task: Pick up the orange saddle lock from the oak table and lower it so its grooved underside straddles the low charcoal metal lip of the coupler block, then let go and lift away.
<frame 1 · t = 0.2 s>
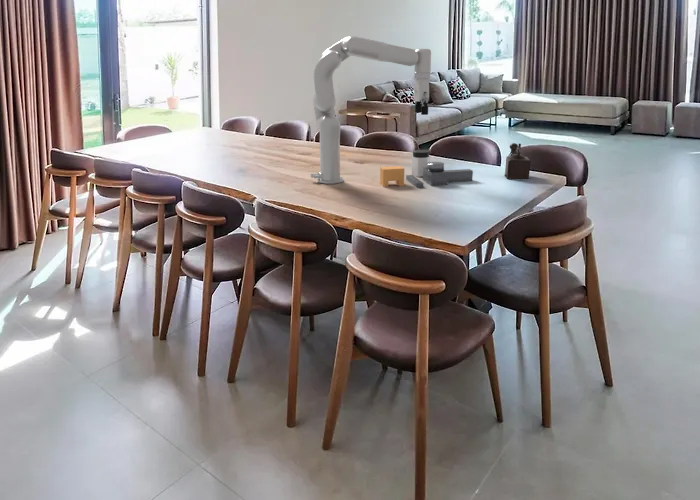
hand: (421, 113, 300), 31 cm above the table, tool pointing down, fingers open, 9 cm apart
saddle lock: (392, 184, 295), on the table
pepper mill: (516, 178, 305), on the table
jar: (420, 175, 314), on the table
coupler: (414, 183, 297), on the table
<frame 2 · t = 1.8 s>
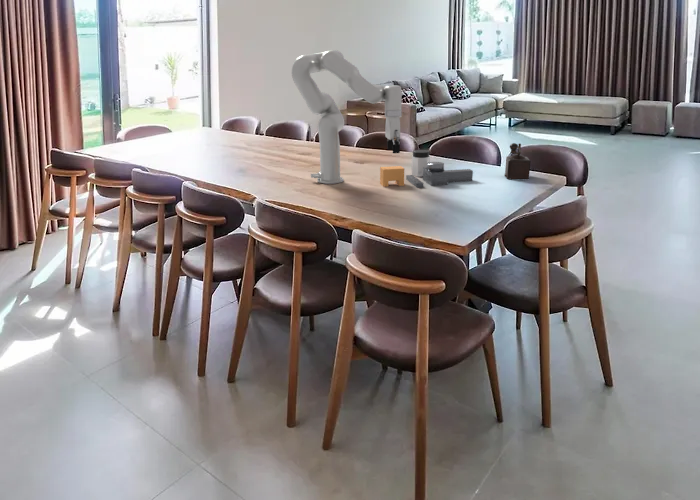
hand: (393, 151, 290), 16 cm above the table, tool pointing down, fingers open, 9 cm apart
nothing on the table moved.
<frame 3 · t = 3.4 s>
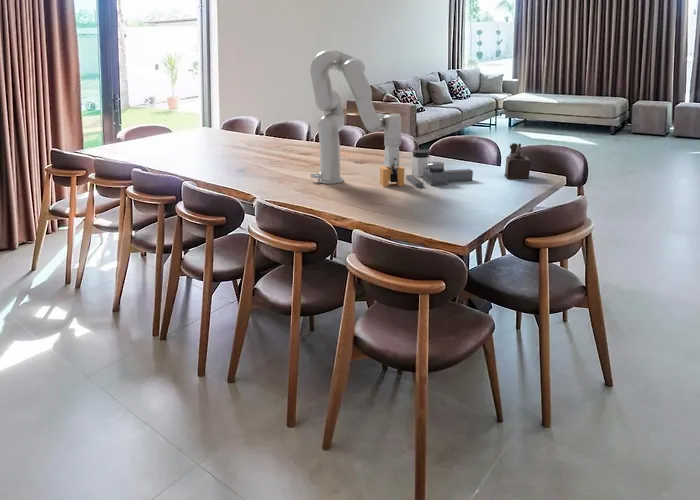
hand: (392, 180, 295), 2 cm above the table, tool pointing down, fingers closed on saddle lock, 6 cm apart
saddle lock: (392, 184, 295), on the table, touching gripper
everything else where it was.
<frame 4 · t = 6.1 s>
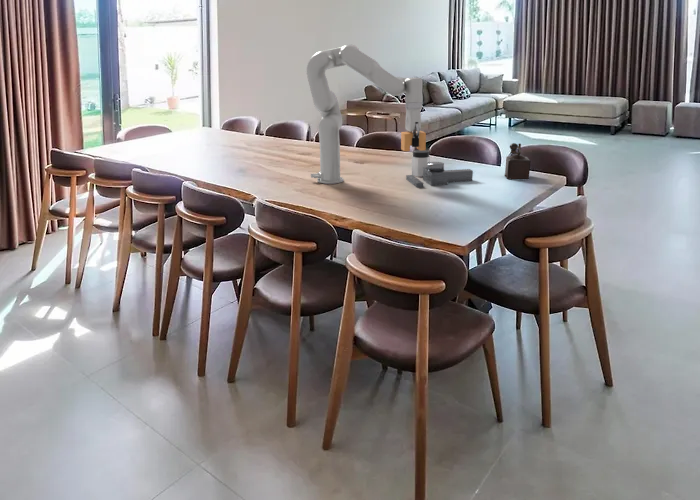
hand: (413, 145, 291), 18 cm above the table, tool pointing down, fingers closed on saddle lock, 6 cm apart
saddle lock: (413, 149, 292), point 16 cm above the table, touching gripper
everything else where it was.
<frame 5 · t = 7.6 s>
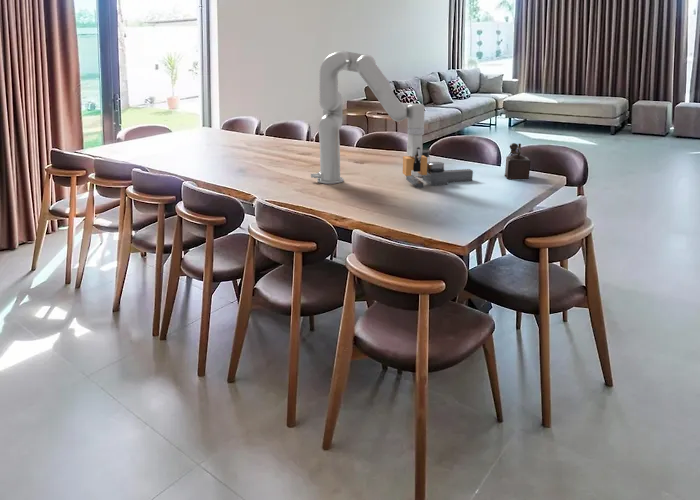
hand: (414, 169, 295), 7 cm above the table, tool pointing down, fingers closed on saddle lock, 6 cm apart
saddle lock: (414, 174, 296), point 4 cm above the table, touching gripper
everything else where it was.
when the fingers open (3 cm above the table, at t = 8.8 s): saddle lock stays where it is, on the table.
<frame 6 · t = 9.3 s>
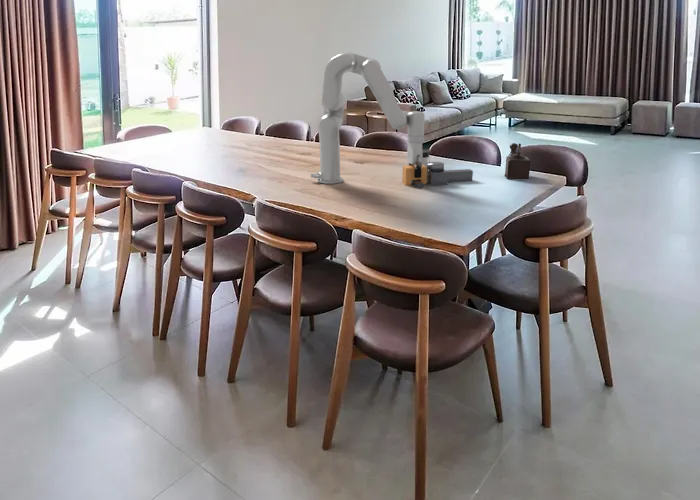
hand: (414, 175, 296), 4 cm above the table, tool pointing down, fingers open, 9 cm apart
saddle lock: (414, 183, 297), on the table
everything else where it was.
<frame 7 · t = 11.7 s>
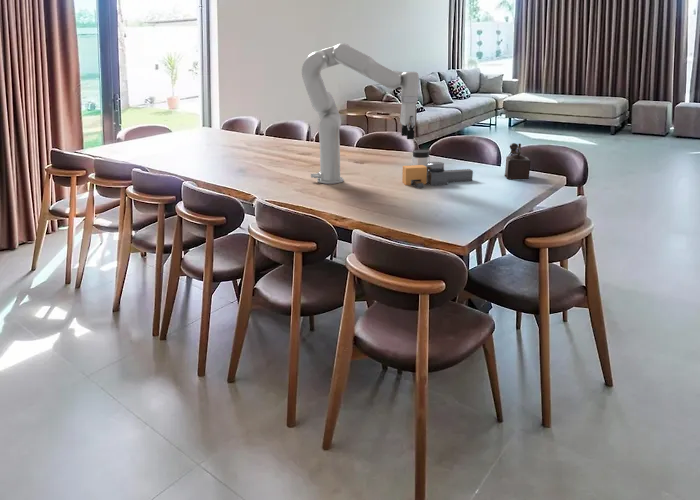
hand: (407, 137, 293), 21 cm above the table, tool pointing down, fingers open, 9 cm apart
nothing on the table moved.
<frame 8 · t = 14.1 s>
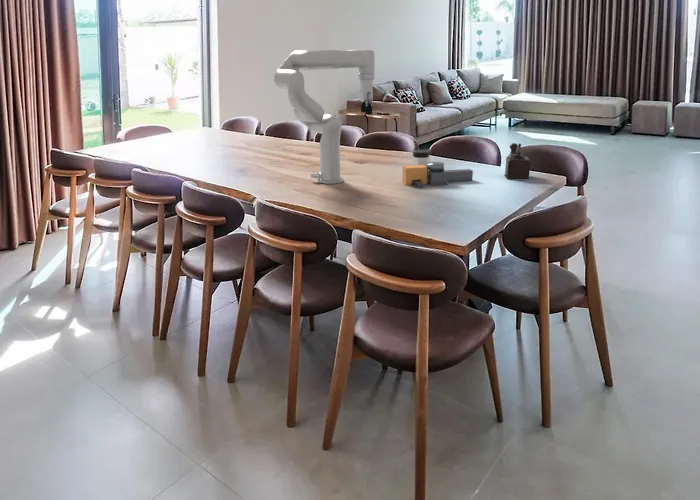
hand: (366, 113, 306), 30 cm above the table, tool pointing down, fingers open, 9 cm apart
nothing on the table moved.
at the end: saddle lock inside the target area on the coupler (0.1 cm from its centre), point 0.0 cm above the coupler's base; saddle lock tilted 0°; the gripper is holding nothing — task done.
